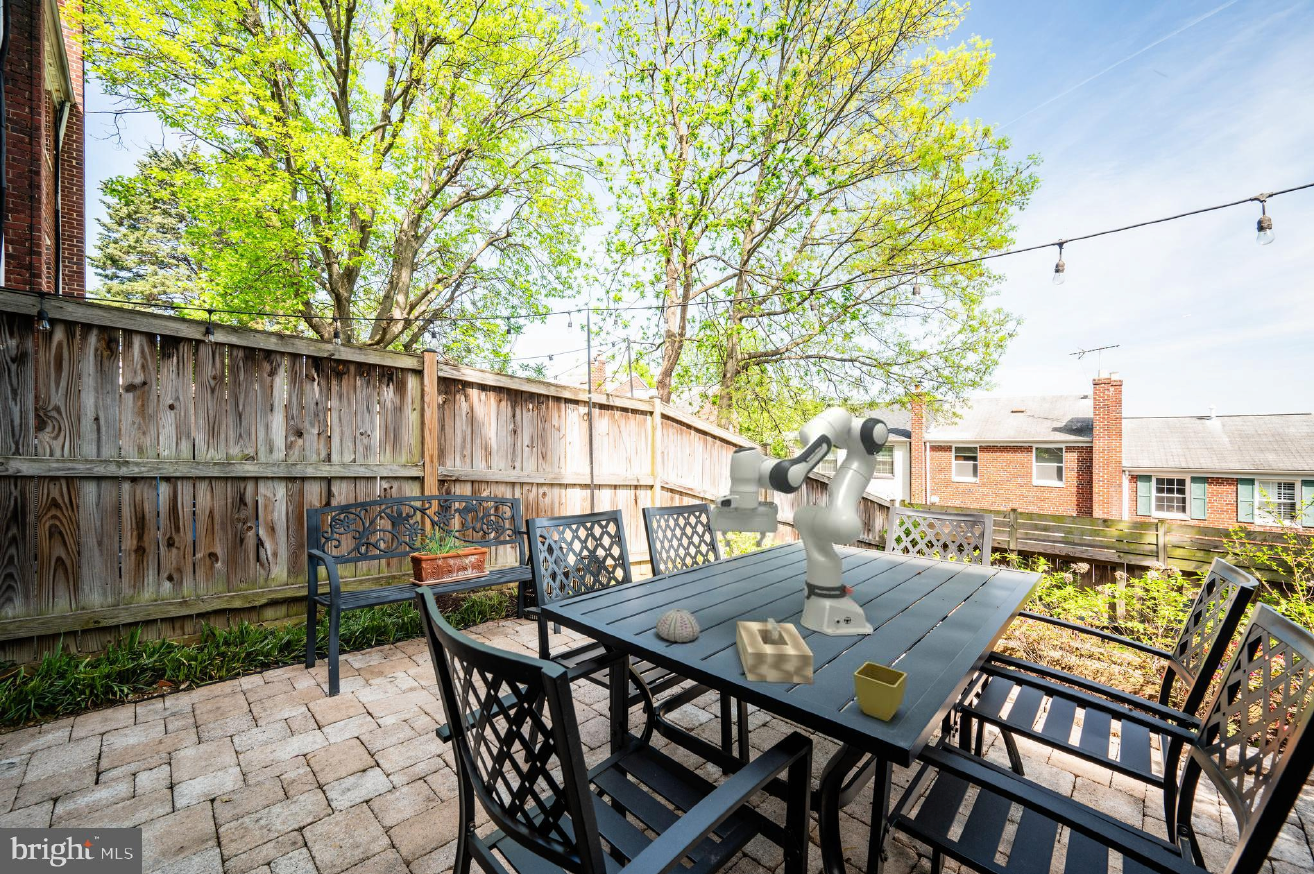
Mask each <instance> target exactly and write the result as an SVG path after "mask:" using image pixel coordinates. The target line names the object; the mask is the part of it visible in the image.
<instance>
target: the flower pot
mask: <svg viewBox="0 0 1314 874" xmlns="http://www.w3.org/2000/svg"><path fill="white" fill-rule="evenodd" d="M907 674H908V673H906V672H903V671H900V670H897V669H893V668H890V667H886V666H884V665H881V664H877V663H874V662H871V661H866V662H865V663H864V664H863V665H861V667H859V669H857V670H856V671H855V672H854V673H853V677H854V687H855V695H856V699H857V703H858V704H859V706H860V708H861V710H862V712H863V713H864V714H866V715H869V716H871V717H874V718H877V719H879V720H882V721H885V722H889V721H890V720H891V719H892V717H893V716H894V715H895V714H896V712H897V711H898V710H899V707H900V706H901V703H902V702H903V699H904V695H905V690H906V689H905V688H906V683H907V676H908V675H907Z"/></svg>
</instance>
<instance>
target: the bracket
mask: <svg viewBox="0 0 1314 874" xmlns="http://www.w3.org/2000/svg"><path fill="white" fill-rule="evenodd" d="M766 620H767V621H766V623H767V645H778V626H777V624H776V623H777V622H776V621H775V619H774V618H772V617H770V618H769V617H767V619H766Z"/></svg>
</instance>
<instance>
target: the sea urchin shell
mask: <svg viewBox="0 0 1314 874" xmlns="http://www.w3.org/2000/svg"><path fill="white" fill-rule="evenodd" d="M655 630H656V632H657V633H658V635H659V636H660V637H661V638H663V639H665V640H669V641H671V642H677V643H682V642H683V643H688V642H691V641H693V640H695V639H697V638H698V636H699V635H700V631H701V628H700V625H699V622H698V621H697V619H696V618H695V616H694V615H693V614H692V613H690V611H688V610H686V609H680V608H673V609H671V610H669V611H666V612H664V613H663V614H662V615H661V616H660V617H659V619H658V620H657V622H656V623H655Z"/></svg>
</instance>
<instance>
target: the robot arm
mask: <svg viewBox="0 0 1314 874" xmlns="http://www.w3.org/2000/svg"><path fill="white" fill-rule="evenodd" d="M889 434H890V432H889V427H888V425H887V423H886V422H885V421H884V420H882V419H879V418H876V417H861V416H860V417H857V416H856V417H851V415H850V413H849V412H848V410H846V409H845V408H843V407H840V406H832V407H829V408H826V409H825V410H823V411H822V412H819V413H818V414H817V415H815V416H813V417H812V418H811V419H809V420H808V421H807V422H806V423H805V424H804V425H803V426H802V427H801V428H800V430H799V435H798V436H799V442H800V445H802V447H803V449H802V451H800V452H799V453H798V454H797V455H796V456H795V457H792V458H786V459H785V458H784V459H780V458H770V456H766V455H765V454H763V453H762V452H760V451H759V449H758V448H757V447H754V446H747V447H740V448H737V449H735V450H734V451H733V452H732V454H731V457H730V464H729V465H730V466H729V477H730V487H729V494H726V495H723V496H719V497H715V498H714V506H713V508H712V509H711V513H710V519H709V528H710V530H711V531H712V532H721V533H720V534H721V536H722V538H723V540H724V547H725V548H726V547H727V548H728V547H729V548H730V547H731V539H728V538H727V537H726V536H727V535H728V532H731V533H759V535H760V537H759V539H758V540H756V539H755V547H756V548H762V545H763V541H764V539H765V538H766V535H767V534H768V533H769V534H771V533H777V531H778V530H779V525H778V523H779V522H778V515H779V505H778V504H777V503H775V502H774V501H765V500H764V501H763V500H760V489H764V490H769V491H774V492H779V493H782V494H785V495H792V494H795V493H797V491H799V490H800V488H802V486H803V485H804V482H805V481H806V479H807V477H809V475H810V474H811V473H812V472H813V471H814V470H815V469H816V467H817V466H818V465H819V464H821V462H822V461H823V460H824V459H825V458H826V457H827V456H828V455H829V453H830V452H831V450H832V448H835V449H840V450H842V449H844V450H846V454H845V455H846V456H845V458H844V459H843V460H842V461H841V463H840V465H839V466H838V468H837V470H836V471H835V473H834V475H833V477H832V478H831V480H830V482H829V483H828V484H827V491H828V495H829V497H830V502H829V504H828V505H827V506H822V505H817V504H804V505H800V506H799V507H797V508H796V509H795V511H794V513H793V515H792V524H793V525H792V526H793V527H794V529H795V530H796V531H797V533H798V534H799V536H800V537H801V541H802V544H803V547H804V551H805V557H806V579H805V581H804V591H803V592H804V597H805V599H804V606H803V611H802V615H801V618H800V620H799V622H800V624H801V625H802V626H803V627H804V628H806V629H809V630H811V631H815V632H819V633H822V634H825V635H827V636H833V637H838V636H839V637H840V636H858V635H857V634H866V636H867V634H871V635H873V634H874V628H873V626H872V625H871V623H869V622H868V621H867V620H866V615H865V611H864V609H863V608H862V607H861V606H859V604H858V603H856V602H855V601H854V599H852V598H851V597H849V595H852V594H853V591H854V590H853V589H852V588H851V587H849V586H847V585H845V584H844V583H843V582H842V581H843V580H842V579H843V561H842V557H840V555H839V554H838V553H837V551H836V550H835V548H834V545H833V544H836V545H852V544H855V543H856V542H857V541H859V539H860V537H861V535H862V531H863V524H862V521H861V519H860V518H859V515H858V507H859V504H860V501H861V499H862V497H863V495H864V493H865V492H866V490H867V488H868V487H869V485H870V482H871V481H872V479H873V476H874V474H875V471H876V468H877V465H878V457H877V455H878V454H879V453H881V452H882V451H883V448H884V447H885V446H886V444H887V441H888V439H889Z"/></svg>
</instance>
